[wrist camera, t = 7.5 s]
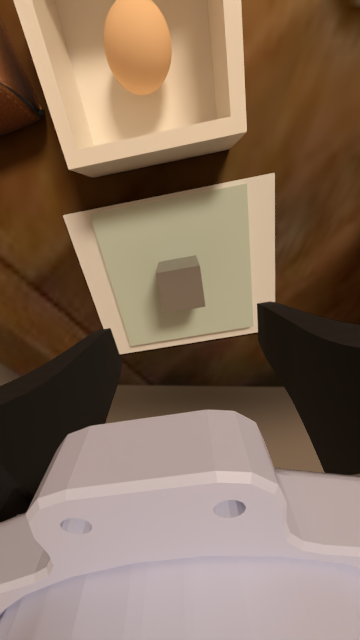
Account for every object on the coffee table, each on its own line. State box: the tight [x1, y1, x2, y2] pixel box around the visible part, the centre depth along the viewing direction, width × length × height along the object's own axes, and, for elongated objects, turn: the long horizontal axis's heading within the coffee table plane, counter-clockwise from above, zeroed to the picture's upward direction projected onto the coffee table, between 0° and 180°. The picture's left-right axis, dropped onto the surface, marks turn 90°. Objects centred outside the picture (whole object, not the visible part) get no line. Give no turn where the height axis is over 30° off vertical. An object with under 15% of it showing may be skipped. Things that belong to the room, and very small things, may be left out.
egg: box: [104, 0, 172, 95], centre depth 13 cm, size 4×4×4 cm
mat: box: [63, 173, 275, 354], centre depth 21 cm, size 16×13×1 cm
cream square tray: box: [14, 0, 247, 178], centre depth 13 cm, size 10×10×4 cm
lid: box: [90, 184, 253, 346], centre depth 18 cm, size 12×12×4 cm
